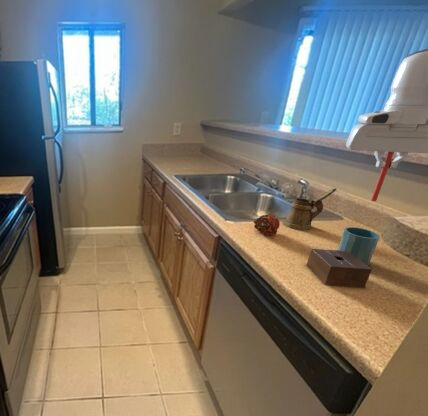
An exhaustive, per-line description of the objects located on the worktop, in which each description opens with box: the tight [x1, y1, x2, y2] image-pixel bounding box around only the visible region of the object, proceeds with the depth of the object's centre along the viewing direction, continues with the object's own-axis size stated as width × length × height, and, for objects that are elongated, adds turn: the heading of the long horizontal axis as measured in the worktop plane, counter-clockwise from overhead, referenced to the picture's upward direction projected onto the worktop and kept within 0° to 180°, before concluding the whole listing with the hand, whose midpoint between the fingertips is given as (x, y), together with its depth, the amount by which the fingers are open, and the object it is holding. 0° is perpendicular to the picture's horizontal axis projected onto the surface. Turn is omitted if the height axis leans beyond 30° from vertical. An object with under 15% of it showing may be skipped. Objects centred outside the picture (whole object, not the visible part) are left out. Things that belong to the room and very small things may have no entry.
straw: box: [370, 152, 395, 202], centre depth 78 cm, size 1×1×20 cm
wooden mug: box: [283, 187, 338, 231], centre depth 110 cm, size 9×14×18 cm, turn 47°
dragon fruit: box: [253, 213, 280, 236], centre depth 108 cm, size 8×8×12 cm
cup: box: [337, 226, 380, 267], centre depth 88 cm, size 8×8×10 cm
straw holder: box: [306, 248, 373, 288], centre depth 81 cm, size 10×10×6 cm
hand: (385, 167), depth 78 cm, fingers closed on straw, 1 cm apart
